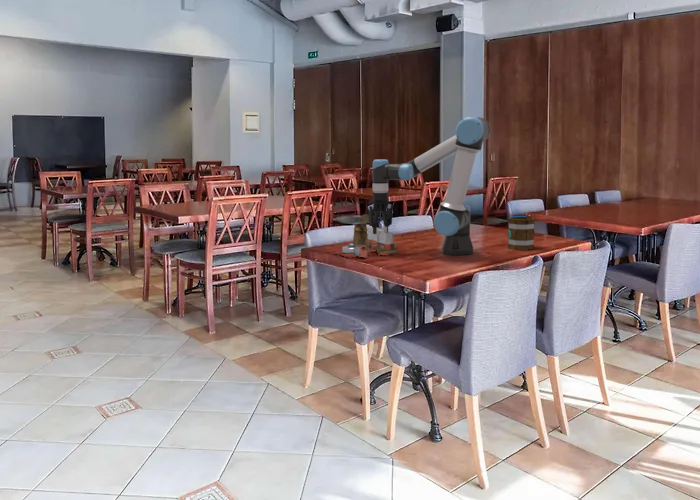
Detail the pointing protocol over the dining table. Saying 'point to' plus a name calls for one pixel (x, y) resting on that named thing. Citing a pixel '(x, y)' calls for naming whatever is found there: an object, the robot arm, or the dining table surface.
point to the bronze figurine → (361, 230)
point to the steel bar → (381, 236)
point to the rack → (382, 248)
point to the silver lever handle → (354, 250)
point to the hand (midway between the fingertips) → (380, 240)
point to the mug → (521, 233)
